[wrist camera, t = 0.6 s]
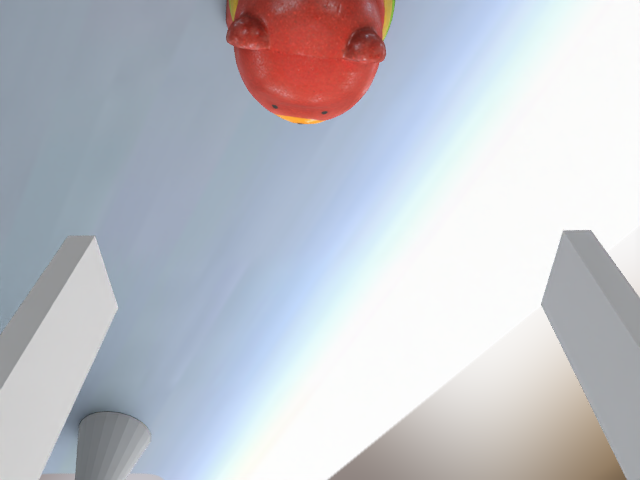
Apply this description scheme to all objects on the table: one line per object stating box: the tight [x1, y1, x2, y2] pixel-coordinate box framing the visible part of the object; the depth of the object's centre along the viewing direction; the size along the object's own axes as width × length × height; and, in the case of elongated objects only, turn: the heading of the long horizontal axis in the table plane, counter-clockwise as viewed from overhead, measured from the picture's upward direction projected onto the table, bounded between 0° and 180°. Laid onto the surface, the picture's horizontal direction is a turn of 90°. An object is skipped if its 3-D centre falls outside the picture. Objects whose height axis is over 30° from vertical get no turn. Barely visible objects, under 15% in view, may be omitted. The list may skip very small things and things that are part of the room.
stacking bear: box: [226, 0, 395, 124], centre depth 29 cm, size 11×10×18 cm
